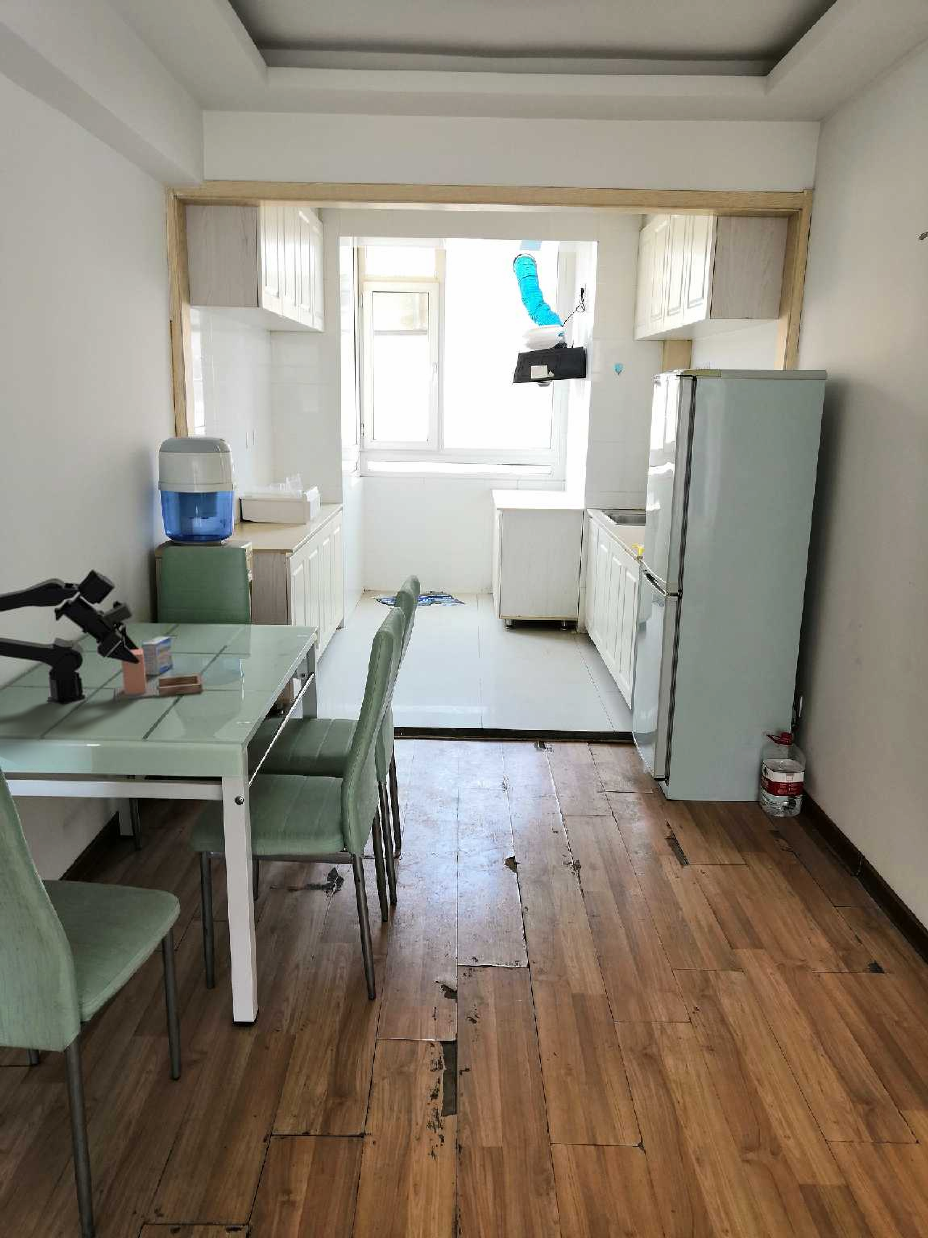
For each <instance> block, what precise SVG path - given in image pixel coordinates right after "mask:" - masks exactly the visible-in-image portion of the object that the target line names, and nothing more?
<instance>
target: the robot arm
mask: <svg viewBox="0 0 928 1238" xmlns="http://www.w3.org/2000/svg"><path fill="white" fill-rule="evenodd" d="M116 587H117V586H116V585H115V583H114V582H113V581H112V580H111V579H110V578H108V576H106V575H103V574H102V573H100V572H98V571H96V570H95V569H91V570H90V571H89V572H88V574H87V575H86V576H85V578H84V579H82V581H81V582H80V583H76V582H73V583H72V582H65V581H63V580H61V579H60V578H56V577H55V578H54V577H53V578H52V577H51V578H49V579H46V580H43V581H41V582H38V583H37V584H35V585H32V586H29V587H27V588H25V589H21V590H15V591H9V592H6V593H0V613H2V612H6V611H12V610H16V609H20V608H21V609H22V608H26V607H28V608H29V607H37V608H39V607H40V608H45V607H54V609H53V612H54V617H55V621H57V622H58V621H60V619H61V618H62V617H63V616H64V617H66V619H68V620H69V621H70V622H72V623H73V624H75V625H76V626H78V627H79V628H80V629H81V632H82V634H85V635H86V634H88V635H89V636H90V637H92V638H93V639H94V640H95V643H96V644H97V654H99V655H100V656H101V657H102V658H106V659H108V658H109V659H112V660H113V659H114V660H118V661H121V662H122V661H126V662H130V663H134V664H138V663H139V659H138V658H137V657H136V656H135V655H134V654H133V653H132V652H131V651H130V650H137V649H140V648H139V647H138V646H137V645H136V644H135V642H134V641H133V640H132V638H131V636H130V635H129V633H128V630H127V624H125V622H126V621H125V620H128V619H130V618H132V617H133V615H134V614H133V611H132V609H131V608H130V605H129V604H128V603H127V602H126V601H124V602H122V601H120V600H119V599H118V600H115V601H114V602H112V608H110V609H109V610H107V611H106V612H105V611H104V610H102V609H99V610H98V609H96V608H95V607H94V606H92V605H95V604H98V605H100V604H101V603H103V602H104V600H105V599H106V598H107V597H108V596H109V595H110V594H111V593H112V591H114V589H115V588H116ZM72 599H73V600H72ZM64 600H65V602H64ZM62 603H63V604H62ZM61 604H62V605H61ZM60 605H61V606H60ZM57 606H60V607H57ZM0 657H7V658H13V659H20V660H26V661H27V660H28V661H33V662H34V661H35V662H41V663H44V664H46V666H47V665H48V666H49V667H50V668H49V671H48V675H49V676H48V679H49V690H50V696H47V699H48V700H49V701H52V702H54V703H57V704H60V705H63V704H67V703H71V702H75V701H79V700H81V699H85V698H86V695H85V694H83V693H84V688H83V679H82V677H81V676H80V675H81V674H80V672H78V670H79V669H80V667H82V665H83V662H84V658H85V650H84V648H83V647H82V645H81V644H80V643H77V642H74V639H70V640H69V639H67V640H66V639H62V638H59V637H55V639H54V641H53V642H52V643H40V642H32V641H26V640H22V639H21V640H19V639H13V638H5V637H1V636H0ZM48 700H47V701H48Z"/></svg>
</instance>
